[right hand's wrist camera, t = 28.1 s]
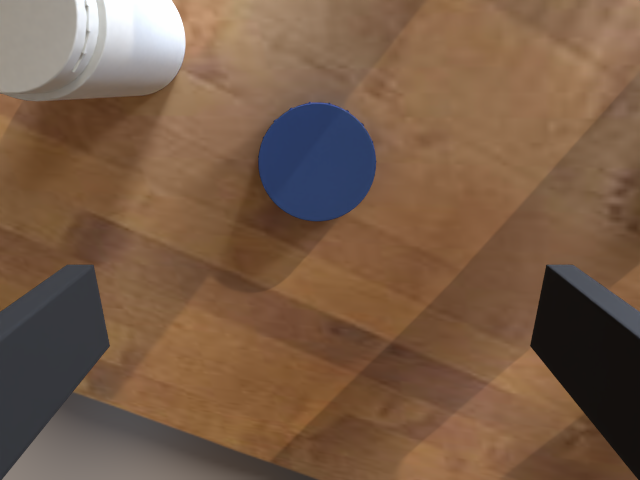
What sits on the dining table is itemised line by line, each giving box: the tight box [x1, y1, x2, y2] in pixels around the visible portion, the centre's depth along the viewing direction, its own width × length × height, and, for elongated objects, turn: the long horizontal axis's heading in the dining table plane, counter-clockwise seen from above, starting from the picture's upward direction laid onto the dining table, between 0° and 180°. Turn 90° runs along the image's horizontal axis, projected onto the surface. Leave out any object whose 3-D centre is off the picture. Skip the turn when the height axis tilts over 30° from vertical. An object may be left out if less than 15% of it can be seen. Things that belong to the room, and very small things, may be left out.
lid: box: [258, 102, 376, 221], centre depth 36 cm, size 10×10×2 cm
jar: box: [0, 0, 185, 101], centre depth 26 cm, size 9×9×15 cm
